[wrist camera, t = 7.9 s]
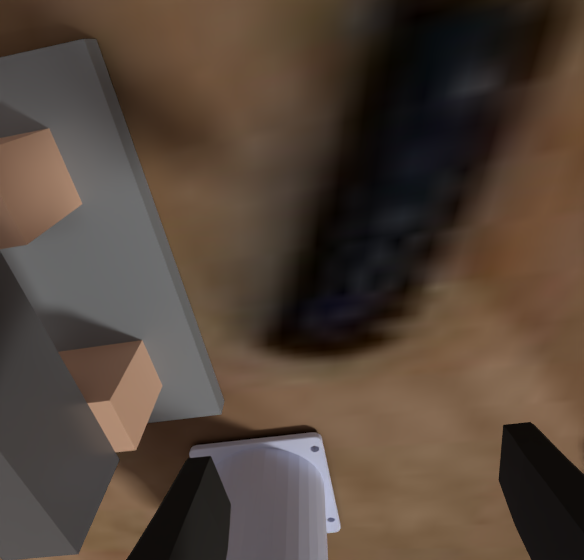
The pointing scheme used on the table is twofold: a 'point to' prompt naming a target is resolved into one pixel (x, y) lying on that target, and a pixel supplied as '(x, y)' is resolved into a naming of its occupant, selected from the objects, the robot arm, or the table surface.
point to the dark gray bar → (44, 439)
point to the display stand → (95, 245)
